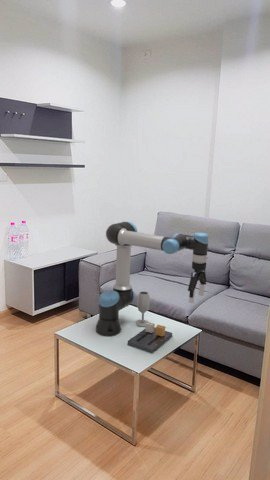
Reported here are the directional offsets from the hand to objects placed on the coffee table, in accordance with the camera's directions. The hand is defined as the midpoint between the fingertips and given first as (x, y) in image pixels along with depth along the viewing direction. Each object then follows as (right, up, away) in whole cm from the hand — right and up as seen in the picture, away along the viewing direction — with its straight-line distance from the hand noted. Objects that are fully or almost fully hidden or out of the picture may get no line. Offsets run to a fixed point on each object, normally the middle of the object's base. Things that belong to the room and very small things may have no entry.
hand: (196, 299), depth 199 cm
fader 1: (-25, -21, +15) cm, 36 cm away
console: (-25, -26, +10) cm, 37 cm away
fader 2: (-19, -22, +11) cm, 32 cm away
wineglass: (-29, -21, +31) cm, 47 cm away
